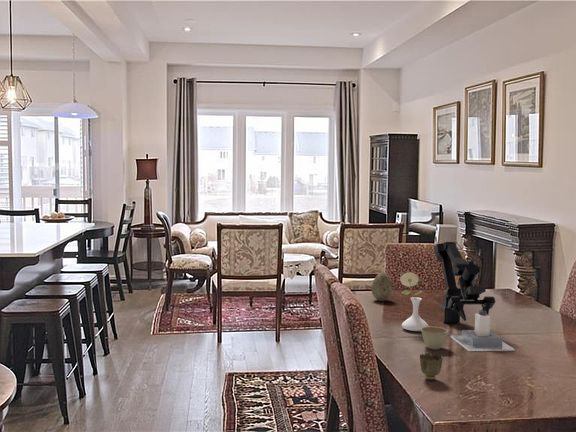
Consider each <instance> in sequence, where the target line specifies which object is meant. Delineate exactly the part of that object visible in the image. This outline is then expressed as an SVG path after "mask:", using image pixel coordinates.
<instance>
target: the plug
mask: <svg viewBox="0 0 576 432" xmlns="http://www.w3.org/2000/svg"><path fill="white" fill-rule="evenodd" d="M490 327H491V315H487V314H486V311H484V310H482V309H481V310H480V309H479V310H478V313H474V329H473V330H474V334H475V335H477V336H489V333H490V330H491V328H490Z"/></svg>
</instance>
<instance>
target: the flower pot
mask: <svg viewBox="0 0 576 432" xmlns="http://www.w3.org/2000/svg"><path fill="white" fill-rule="evenodd" d="M420 332H421V336H422V340H423V342H424V344H425V346H426V347H427V349H430V350H440V349H441V348H442V347H443V345H444V344H445V342H446V339H447V337H448V332H449V331H448V329H446V328H444V327H440V326H439V327H438V326H429V327H424V328H422V329H421V331H420Z"/></svg>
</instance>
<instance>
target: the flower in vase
mask: <svg viewBox="0 0 576 432" xmlns="http://www.w3.org/2000/svg"><path fill="white" fill-rule="evenodd" d="M399 281H400V283H401V285H403V286H406V287H409V290H408V289H405V290H402V291H401V293H400V294H403V295H406V296H407V295H410V293H411V296H412V297H410V298H409V299H410V301H411V302H412V315H410V317H408V318H407V319H406V320H404V321H403V322H402V323H401V327H402V328H403V329H405V330H407V331H412V332H422V331H421V329H422V328H424V327H430V326H429V324H428V323H427V322H426V321H425V320H424V319H422V318H421V316H420V315H419V306H420V304H421V301H422V300H423V298H421V297H418V295H420V294H422V292H423V290H420V291H416V292H415V293H414V294H413V292H412V289H411V288H412V287H414V286H417V284H418V282H420V278H419V276H418V274H417V273H416V274H415V273H414V272H411V271H409V272H408V271H407V272H406V273H403V274H402V276H401V277H400V278H399ZM415 296H417V297H415Z"/></svg>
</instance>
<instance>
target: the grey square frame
mask: <svg viewBox="0 0 576 432" xmlns="http://www.w3.org/2000/svg"><path fill="white" fill-rule="evenodd" d="M450 338H451V339H452V340H454V341H455V342H457V343H458V344H459V345H460V346H461V347H463V348H464V349H465V350H466V351H467V352H514V351H515V348H513V347H512V346H511V345H509V344H507V343H506V342H504V341H503V339H504V338H503V337H502V336H500V335H499V334H497V333H496V332H494V331H493V330H491V329H490V333H489V336H477V335H475V334H474V329H461V334H459V335H458V334H451V335H450Z"/></svg>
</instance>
